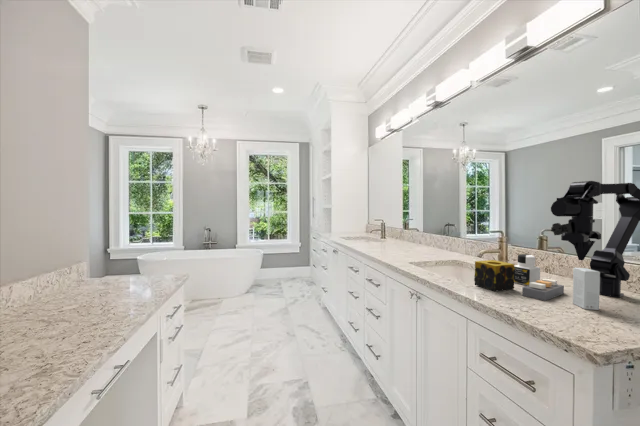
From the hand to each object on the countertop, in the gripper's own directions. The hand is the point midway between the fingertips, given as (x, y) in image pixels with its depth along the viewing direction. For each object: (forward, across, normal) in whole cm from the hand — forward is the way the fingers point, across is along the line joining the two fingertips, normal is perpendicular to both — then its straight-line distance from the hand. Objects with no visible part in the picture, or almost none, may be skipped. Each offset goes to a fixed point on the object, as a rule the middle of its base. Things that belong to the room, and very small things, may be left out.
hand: (581, 260), depth 107 cm
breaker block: (+13, +9, -8) cm, 18 cm away
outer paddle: (+10, +14, -8) cm, 19 cm away
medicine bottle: (+13, -4, -19) cm, 23 cm away
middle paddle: (+10, +9, -8) cm, 16 cm away
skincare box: (+13, +13, +5) cm, 19 cm away
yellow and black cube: (+13, +14, -23) cm, 30 cm away
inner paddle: (+10, +4, -8) cm, 13 cm away
